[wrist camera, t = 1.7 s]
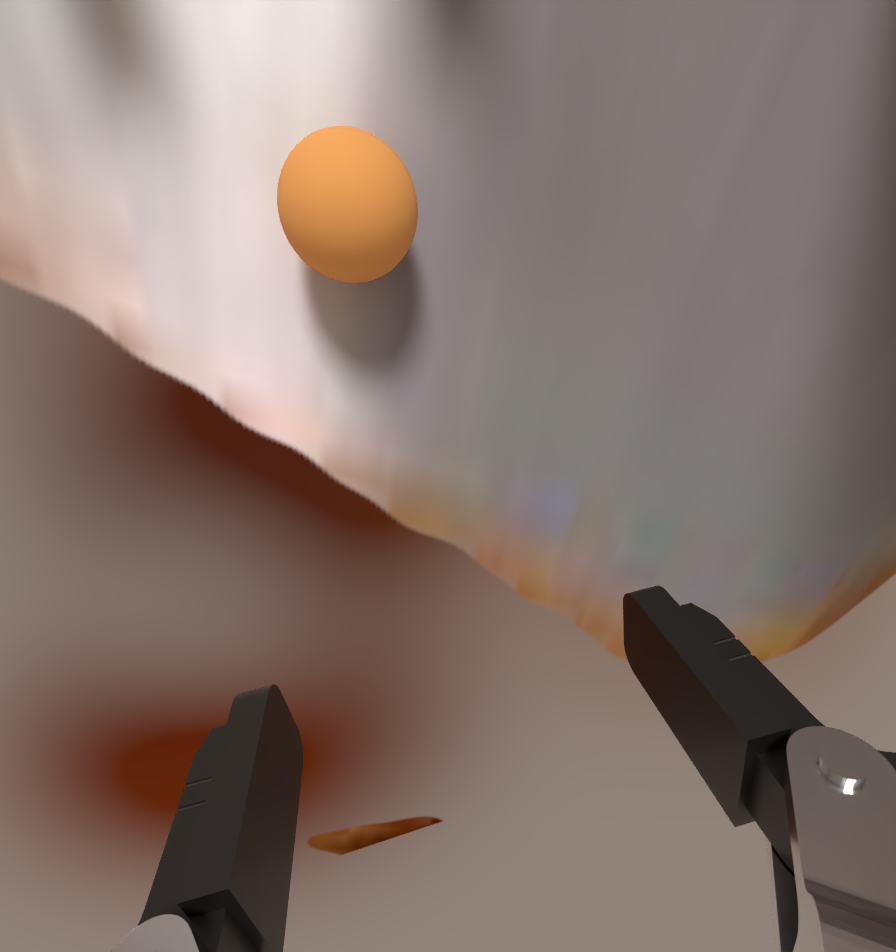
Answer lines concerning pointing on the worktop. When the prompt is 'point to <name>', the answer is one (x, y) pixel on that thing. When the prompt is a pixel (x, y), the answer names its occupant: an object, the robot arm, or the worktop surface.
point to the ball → (347, 204)
